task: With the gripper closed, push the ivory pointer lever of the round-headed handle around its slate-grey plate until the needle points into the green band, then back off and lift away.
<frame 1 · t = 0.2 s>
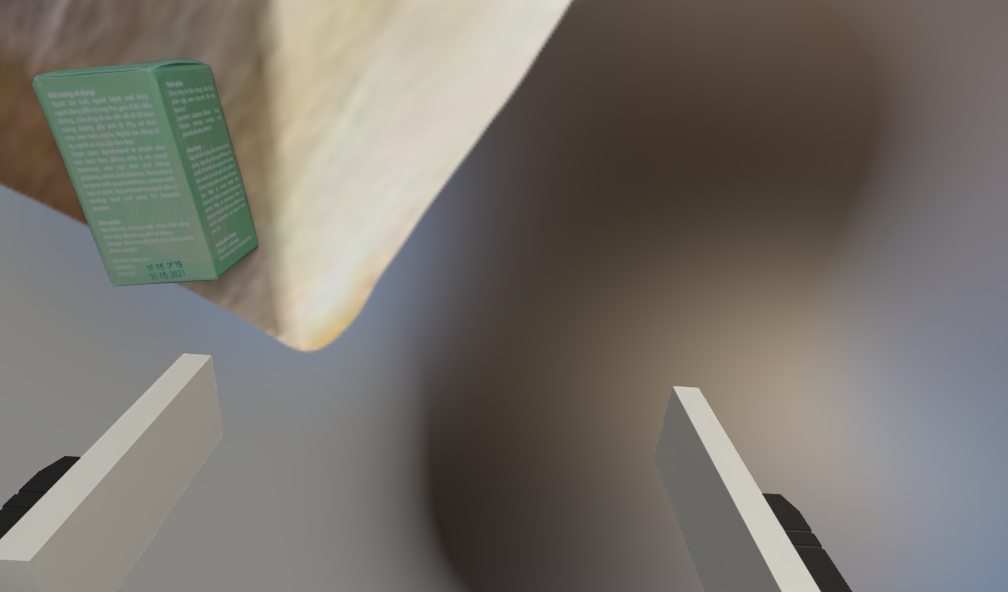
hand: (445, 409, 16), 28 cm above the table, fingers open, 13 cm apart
box: (190, 160, 40), on the table
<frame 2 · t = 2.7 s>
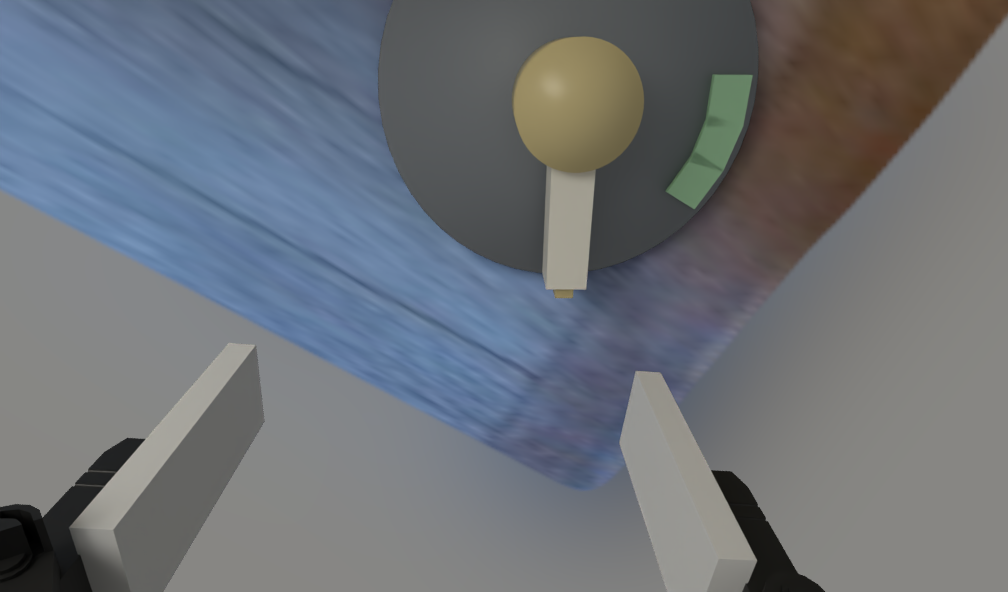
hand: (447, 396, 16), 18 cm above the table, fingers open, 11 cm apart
plate: (565, 97, 30), on the table
round-headed handle: (569, 176, 29), point 3 cm above the table, hinge at 0.0°
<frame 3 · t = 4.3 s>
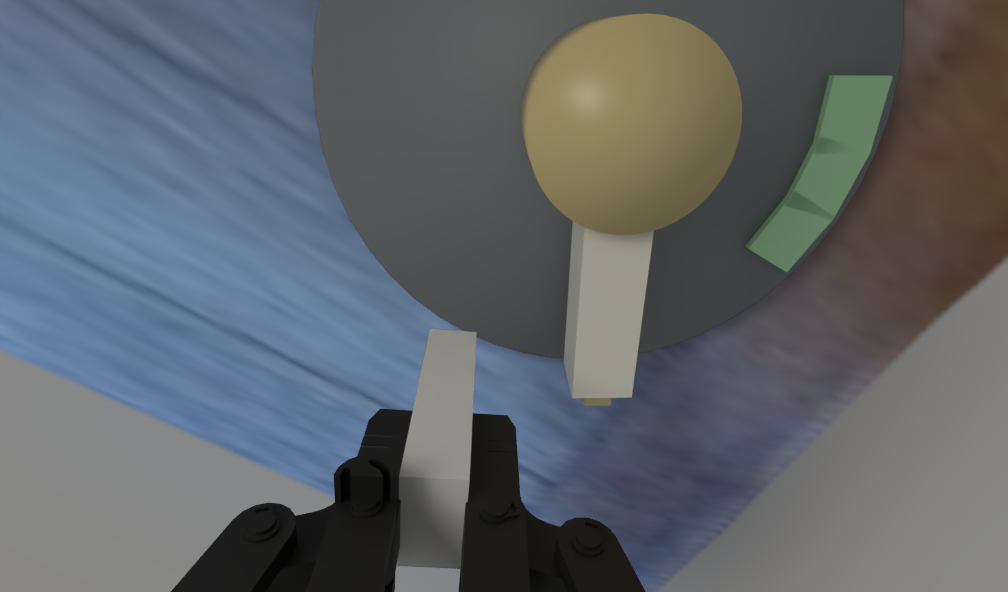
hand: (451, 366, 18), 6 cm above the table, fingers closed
plate: (600, 109, 20), on the table
round-headed handle: (608, 233, 19), point 3 cm above the table, hinge at 0.0°
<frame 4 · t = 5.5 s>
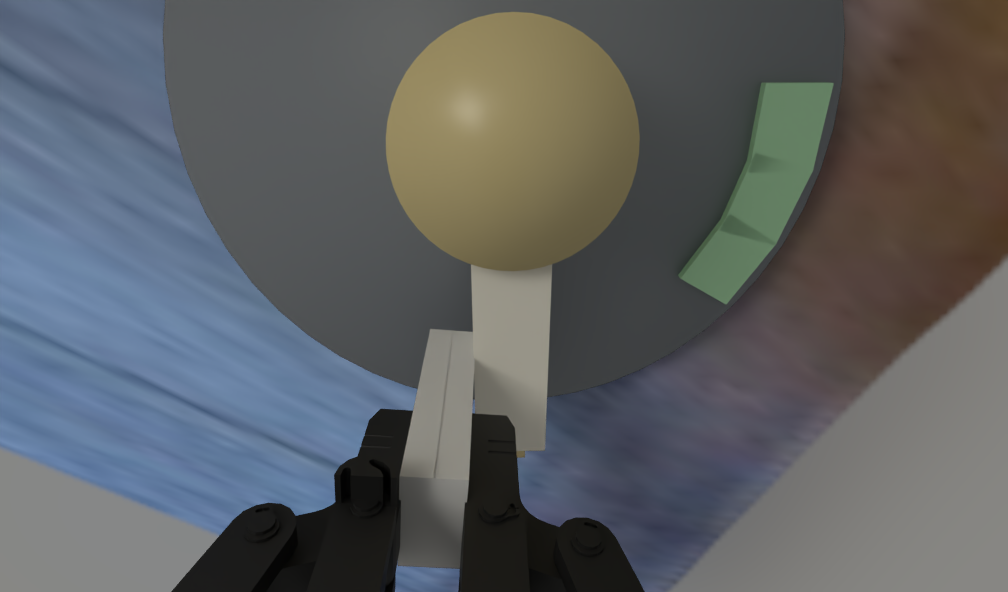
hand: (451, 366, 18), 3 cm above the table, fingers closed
plate: (506, 123, 18), on the table
round-headed handle: (509, 265, 16), point 3 cm above the table, hinge at 0.0°, touching gripper
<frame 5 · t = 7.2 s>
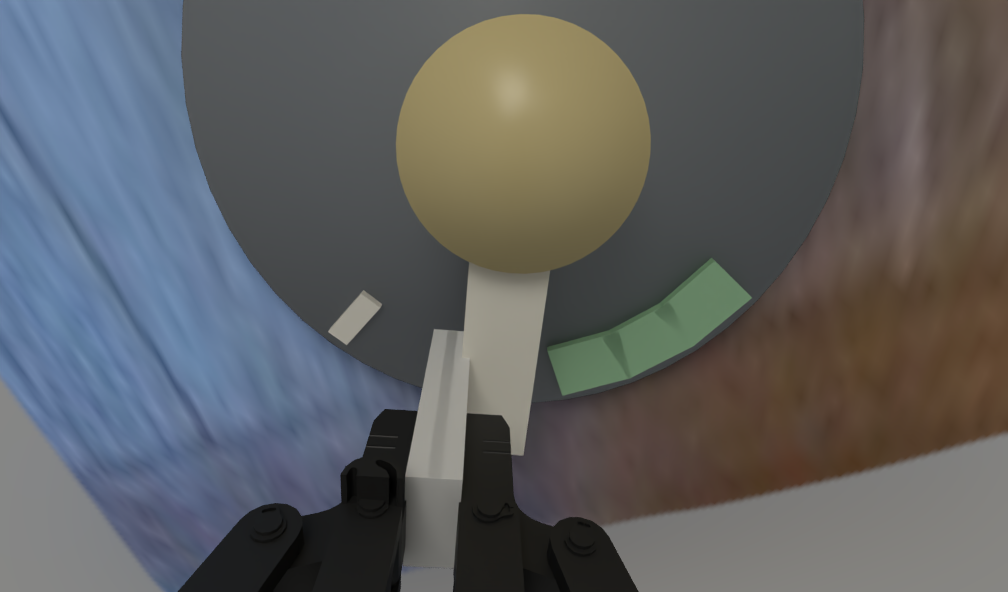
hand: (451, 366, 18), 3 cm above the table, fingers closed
plate: (519, 125, 18), on the table
round-headed handle: (507, 267, 16), point 3 cm above the table, hinge at 36.5°, touching gripper
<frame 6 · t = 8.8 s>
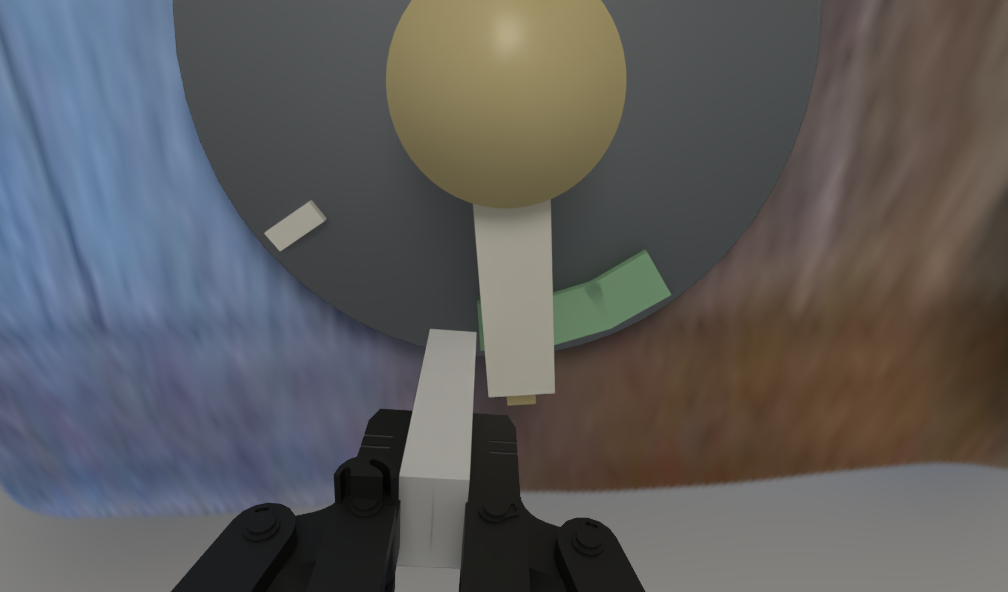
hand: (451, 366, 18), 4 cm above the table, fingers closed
plate: (501, 81, 18), on the table
round-headed handle: (511, 211, 17), point 3 cm above the table, hinge at 60.6°
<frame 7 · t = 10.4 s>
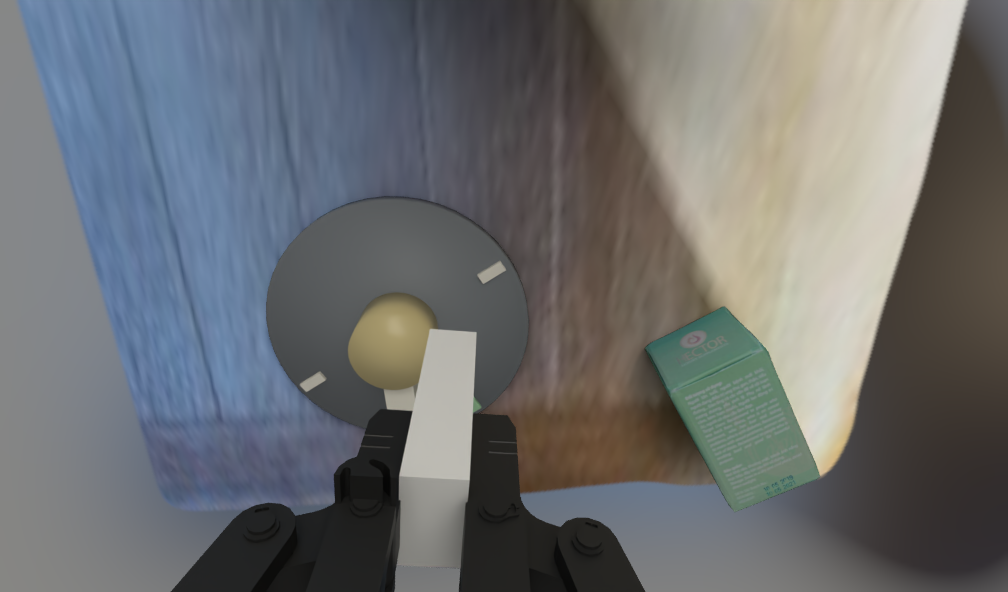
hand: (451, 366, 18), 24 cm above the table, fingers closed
plate: (401, 321, 43), on the table
round-headed handle: (401, 382, 42), point 3 cm above the table, hinge at 60.7°
box: (710, 380, 47), on the table
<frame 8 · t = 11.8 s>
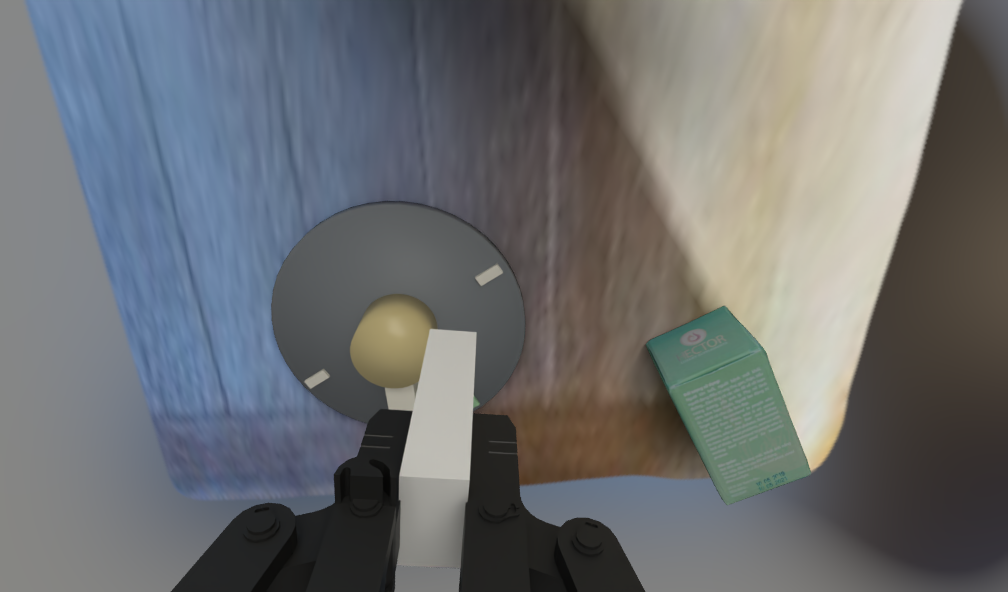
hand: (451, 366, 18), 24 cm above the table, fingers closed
plate: (402, 321, 45), on the table
round-headed handle: (402, 380, 43), point 3 cm above the table, hinge at 60.7°
box: (708, 377, 48), on the table
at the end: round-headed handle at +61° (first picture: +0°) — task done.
